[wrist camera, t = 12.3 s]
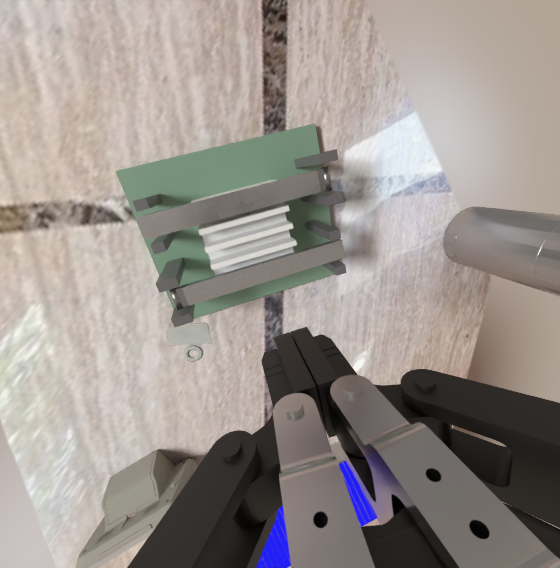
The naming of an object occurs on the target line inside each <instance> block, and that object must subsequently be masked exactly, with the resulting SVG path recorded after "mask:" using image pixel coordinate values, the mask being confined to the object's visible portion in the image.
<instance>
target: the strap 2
mask: <svg viewBox="0 0 560 568" xmlns="http://www.w3.org/2000/svg"><path fill="white" fill-rule="evenodd" d="M343 258H344V251H343V245H342V240H341V239H336V240H333V241H330V242H326V243H323V244H320V245H316V246H313V247H309V248H306V249H303V250H299V251H296V252H293V253H289V254H286V255H283V256H279V257H276V258H272V259H269V260H266V261H262V262H259V263H256V264H252V265H249V266H246V267H242V268H239V269H236V270H232V271H229V272H225V273H222V274H219V275H215V276H212V277H209V278H205V279H202V280H199V281H195V282H192V283H189V284H185V285H182V286H179V287H177V288H173V289H170V290H168V291H169V293H170V295H171V298H172V300H173V303H174V305H175V307H176V310H181V309H183V308H184V307H186V306H190V305H193V304H197V303H200V302H203V301H206V300H210V299H213V298H216V297H219V296H223V295H226V294H229V293H232V292H236V291H239V290H242V289H245V288H248V287H252V286H255V285H258V284H261V283H265V282H268V281H271V280H274V279H278V278H281V277H284V276H287V275H291V274H294V273H297V272H300V271H304V270H307V269H310V268H313V267H317V266H320V265H323V264H326V263H330V262H333V261H336V260H339V259H343Z"/></svg>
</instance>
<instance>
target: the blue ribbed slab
mask: <svg viewBox="0 0 560 568" xmlns="http://www.w3.org/2000/svg"><path fill="white" fill-rule="evenodd" d="M330 447H331V450H332V453H333V455H334V456H335V457H336V459H337V461H338V464H339V466H340V469H341V472H342V475H343V478H344V481H345V484H346V486H347V489H348V492H349V495H350V498H351V501H352V503H353V506H354V509H355V512H356V515H357V518H358V521H359V523H360V526H361V527H362V526H364V525H365V524H367V523H369V522H371V521H373V520H375V519H376V518H377V516H376V514H375V512H374V510H373V508H372V506H371V504H370V502H369V501H368V499H367V497H366V495H365V494H364V492H363V490H362V488H361V487H360V485H359V483H358V481H357V480H356V478H355V476H354V474H353V472H352V471H351V469H350V467H349V465H348V464H347V462H346V460H345V458H344V456H343V453H342V449H341V444H340V441H339V442H337V443H335V444H333V445H331V446H330ZM289 566H291V561H290V554H289V547H288V539H287V532H286V525H285V518H284V510H283V506H282V507H280V508H279V509H278V511H277V517H276V520H275V523H274V525H273V528H272V530H271V532H270V535H269V537H268V540H267V542H266V545H265V547H264V550H263V552H262V555H261V557H260V559H259V562H258V564H257V567H256V568H288V567H289Z"/></svg>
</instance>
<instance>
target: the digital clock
mask: <svg viewBox="0 0 560 568" xmlns="http://www.w3.org/2000/svg"><path fill="white" fill-rule="evenodd" d="M196 469H197V462H196V461H195V460H194V459H186V460H184V461H182V462H180V463H179V464H177V465H174V464H173V463H172V462H171V461H170V460H169V459H168V458H167V457H166V456H165V455H164V454H162V453H161V452H160V451H159V450H156V451H154V452H153V453H151V454H149V455H148V456H146V457H144V458H143V459H141V460H139V461H138V462H136V463H134V464H133V465H131V466H129V467H128V468H126V469H124V470H123V471H121V472H119V473H118V474H116V475H114V476H113V477H111V478H110V479H109V482H108V485H107V488H106V491H105V494H104V498H103V501H102V508H103V511H104V514H105V517H104V518H103V520H102V521H101V523H100V524H99V526H98V527H97V529H96V530H95V532H94V533H93V535H92V536H91V538H90V539H89V541H88V542H87V544H86V545H85V547H84V549H83V550H82V552H81V553H80V555H79V557H78V559H77V563H76V568H99V567H100V566H102V565H103V564H105V563H107V562H108V561H110V560H112V559H113V558H115V557H117V556H118V555H120V554H121V553H123V552H125V551H126V550H128V549H130V548H131V547H133V546H135V545H136V544H138V543H139V542H141V541H143V540H144V539H146V538H148V537H149V536H150V535H151V533H152V532H153V530H154V529H155V528H156V526H157V525H158V523H159V522H160V520H161V519H162V518H163V516H164V515H165V513H166V512H167V510H168V509H169V508H170V506H171V505H172V503H173V502H174V500H175V499H176V498H177V496H178V495H179V493H180V492H181V490H182V489H183V488H184V486H185V485H186V483H187V482H188V480H189V479H190V478H191V476H192V475H193V473H194V472H195V471H196Z"/></svg>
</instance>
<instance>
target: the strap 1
mask: <svg viewBox="0 0 560 568" xmlns="http://www.w3.org/2000/svg"><path fill="white" fill-rule="evenodd" d="M330 190H332V183H331V177H330V170H329V166H326V167H322V168H320V169H318V170H314V171H311V172H307V173H303V174H299V175H295V176H291V177H288V178H284V179H280V180H276V181H272V182H269V183H265V184H261V185H257V186H253V187H249V188H246V189H242V190H238V191H234V192H230V193H227V194H223V195H219V196H215V197H211V198H207V199H204V200H200V201H196V202H192V203H188V204H184V205H181V206H177V207H173V208H169V209H165V210H162V211H158V212H154V213H150V214H146V215H142V216H139V217H136V219H137V222H138V224H139V226H140V229H141V231H142V233H143V236H144V238H145V240H147V239H151V238H154V237H158V236H161V235H165V234H169V233H172V232H176V231H180V230H183V229H187V228H191V227H194V226H198V225H202V224H205V223H209V222H213V221H216V220H220V219H224V218H227V217H231V216H234V215H238V214H242V213H245V212H249V211H253V210H256V209H260V208H264V207H267V206H271V205H275V204H278V203H282V202H286V201H289V200H293V199H297V198H300V197H304V196H307V195H311V194H315V193H318V192H322V191H330Z"/></svg>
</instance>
